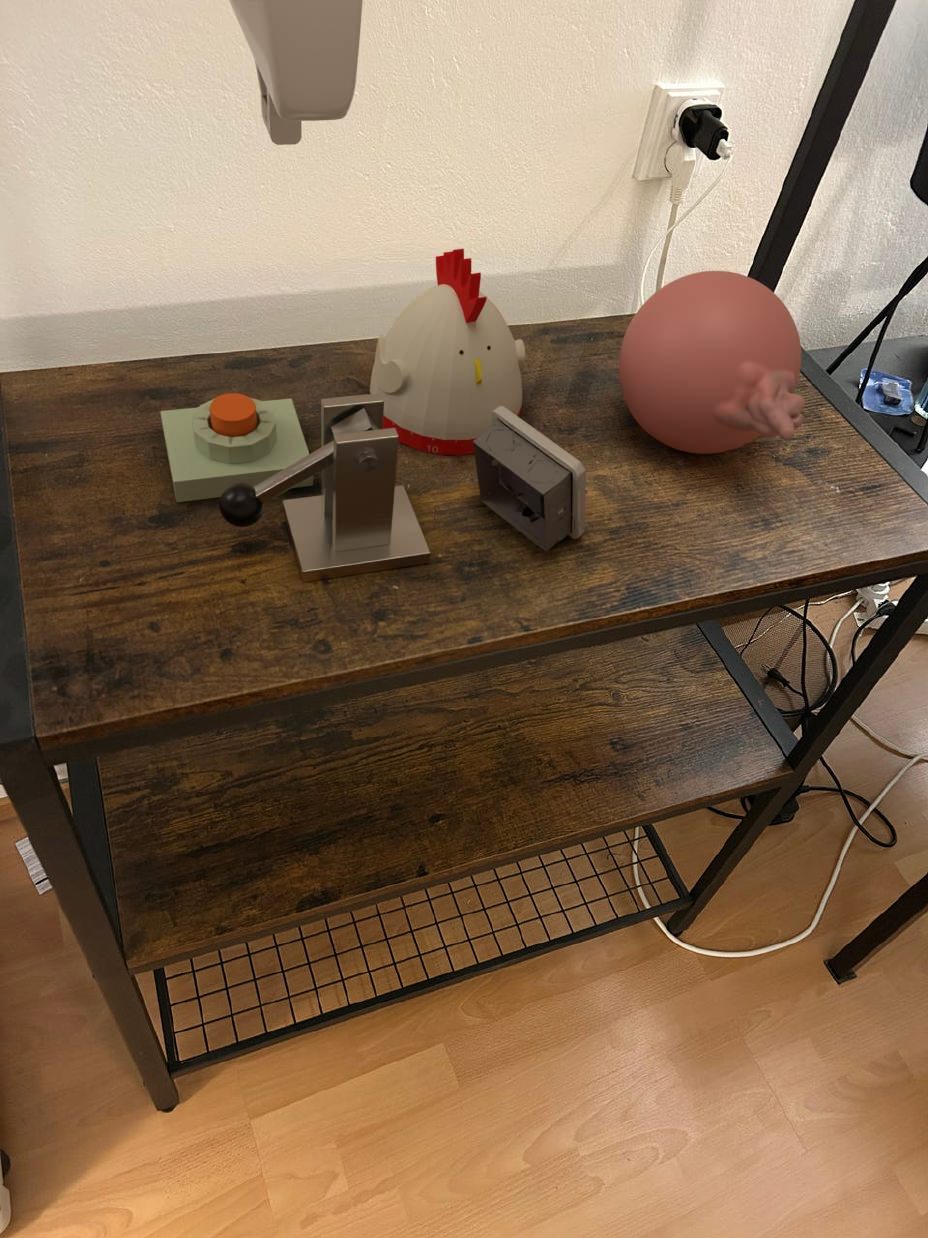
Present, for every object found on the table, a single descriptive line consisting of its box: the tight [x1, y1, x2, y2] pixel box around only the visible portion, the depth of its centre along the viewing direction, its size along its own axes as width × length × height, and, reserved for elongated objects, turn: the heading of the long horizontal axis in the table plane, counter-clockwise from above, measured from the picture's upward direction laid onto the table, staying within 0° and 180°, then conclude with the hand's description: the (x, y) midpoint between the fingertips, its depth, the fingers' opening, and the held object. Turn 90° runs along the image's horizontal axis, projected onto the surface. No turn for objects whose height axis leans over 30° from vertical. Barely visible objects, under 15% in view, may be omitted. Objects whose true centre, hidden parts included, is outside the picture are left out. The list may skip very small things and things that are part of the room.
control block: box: [160, 397, 314, 503], centre depth 80 cm, size 11×9×4 cm
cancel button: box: [210, 392, 257, 437], centre depth 78 cm, size 4×4×2 cm
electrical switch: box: [473, 406, 587, 552], centre depth 77 cm, size 9×5×9 cm, turn 44°
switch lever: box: [218, 408, 379, 528], centre depth 70 cm, size 13×3×3 cm
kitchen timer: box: [369, 248, 526, 456], centre depth 83 cm, size 14×14×15 cm
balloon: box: [618, 270, 806, 455], centre depth 83 cm, size 15×20×15 cm
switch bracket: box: [282, 393, 432, 583], centre depth 72 cm, size 10×8×12 cm
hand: (281, 133), depth 57 cm, fingers closed
